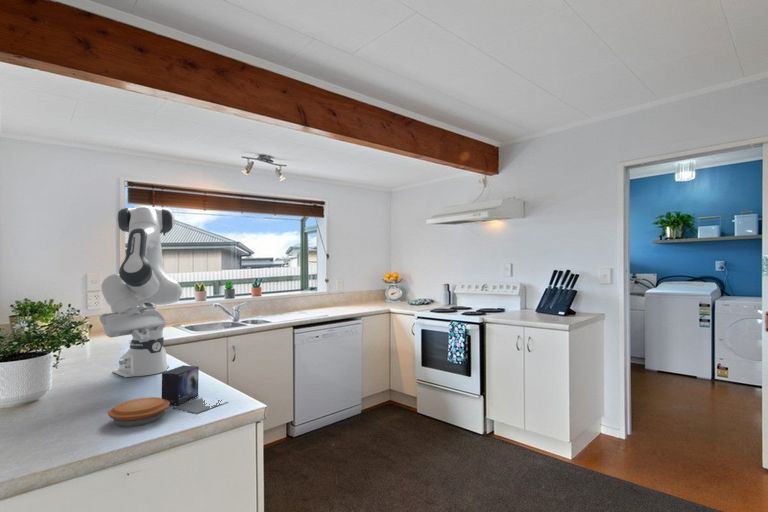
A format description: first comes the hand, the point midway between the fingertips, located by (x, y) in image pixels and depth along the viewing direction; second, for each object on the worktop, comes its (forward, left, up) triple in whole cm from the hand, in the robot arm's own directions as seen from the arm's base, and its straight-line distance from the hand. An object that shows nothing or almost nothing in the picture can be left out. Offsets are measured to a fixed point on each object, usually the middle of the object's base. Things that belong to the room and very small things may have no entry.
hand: (145, 340), depth 143 cm
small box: (+19, 0, -19) cm, 27 cm away
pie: (+23, -16, -19) cm, 34 cm away
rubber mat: (+29, 0, -18) cm, 34 cm away
